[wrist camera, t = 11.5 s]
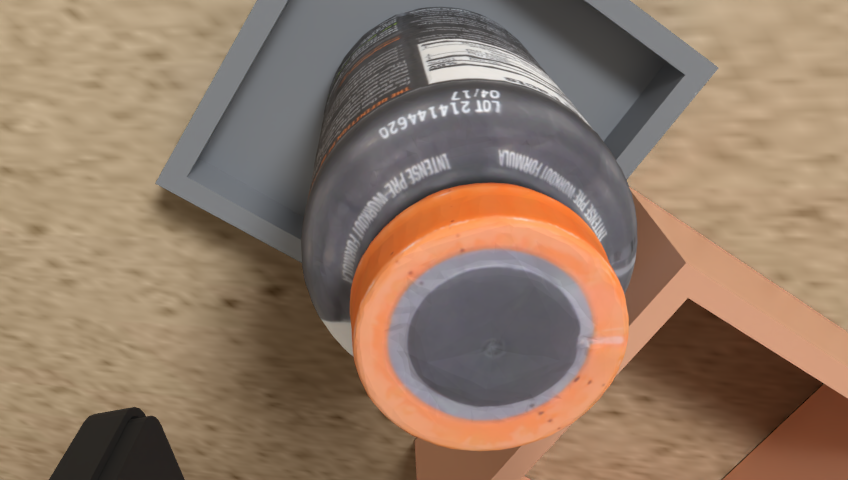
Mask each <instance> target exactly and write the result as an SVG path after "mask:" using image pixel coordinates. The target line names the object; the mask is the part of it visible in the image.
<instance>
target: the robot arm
mask: <svg viewBox="0 0 848 480" xmlns="http://www.w3.org/2000/svg"><path fill="white" fill-rule="evenodd" d="M49 480H185V479H184V477H183V475H182V472H181V470H180V468H179V466H178V463H177V461H176V459H175V456H174V454H173V452H172V449H171V447H170V445H169V442H168V440H167V438H166V435H165V433H164V431H163V428H162V426H161V424H160V422H159V420H158V419H157V418H156V417H154V416H147V417H146V416H145V414H144V412H142V411H141V410H140V409H139V408H136V407H132V408H126V409H121V410H115V411H110V412H104V413H98V414H94V415H91V416H89V417H88V418H87V419H86V420H85V421H84V423H83V425H82V426H81V428H80V430H79V431H78V433H77V434H76V436H75V438H74V439H73V441H72V443H71V444H70V446H69V448H68V449H67V451H66V453H65V454H64V456H63V458H62V459H61V461H60V462H59V464H58V466H57V467H56V469H55V471H54V472H53V474H52V476H51V477H50V479H49Z"/></svg>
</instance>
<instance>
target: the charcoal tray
mask: <svg viewBox="0 0 848 480" xmlns="http://www.w3.org/2000/svg"><path fill="white" fill-rule="evenodd" d="M426 7H453V8H460V9H464V10H468V11H472V12H475V13H478V14H481V15H483V16H485V17H487V18H489V19H491V20H493V21H494V22H496V23H498V24H499V25H501V26H502V27H503V28H505V29H506V30H507V31H509V32H510V33H511V34H512V35H513V36H514V37H516V38H517V39H518V40H519V41H520V42H521V43H522V44H523V46H524V47H525V48H526V49H527V50H528V52H529V53H530V54H531V55H532V56H533V57H534V59H535V60H536V61H537V62H538V63H539V65H540V66H541V67H542V68H543V69H544V70H545V72H546V73H547V74H548V75H549V76H550V78H551V79H552V80H553V81H554V82H555V84H556V85H557V86H558V87H559V88H560V90H561V91H562V92H563V94H564V95H565V96H566V97H567V98H568V99H569V100H570V101H571V103H572V104H573V105H574V106H575V107H576V109H577V110H578V111H579V112H580V114H581V115H582V116H583V117H584V118H585V120H586V121H587V122H588V124H589V125H590V126H591V128H592V129H593V130H594V131H595V132H596V133H598V135H599V136H600V138H601V139H602V140H603V142H604V143H605V145H606V146H607V147H608V149H609V150H610V151H611V153H612V154H613V156H614V158H615V159H616V161H617V163H618V164H619V166H620V167H621V169H622V171H623V173H624V175H625V178H626V180H627V179H628V177H629V176H630V175H631V174H632V172H633V171H634V170H635V169H636V168H637V166H638V165H639V164H640V163H641V162H642V160H643V159H644V158H645V157H646V155H647V154H648V153H649V152H650V151H651V149H652V148H653V147H654V146H655V145H656V143H657V142H658V141H659V140H660V138H661V137H662V136H663V135H664V134H665V132H666V131H667V130H668V129H669V128H670V126H671V125H672V124H673V123H674V122H675V120H676V119H677V118H678V117H679V115H680V114H681V113H682V112H683V111H684V109H685V108H686V107H687V106H688V105H689V103H690V102H691V101H692V100H693V98H694V97H695V96H696V95H697V94H698V92H699V91H700V90H701V89H702V88H703V86H704V85H705V84H706V83H707V81H708V80H709V79H710V78H711V77H712V75H713V74H714V73H715V72H716V71H717V69H718V67H717V66H715V65H714V64H713V63H712V62H710V61H709V60H708V59H706V58H705V57H704V56H702V55H701V54H700V53H698V52H697V51H696V50H694V49H693V48H692V47H690V46H689V45H688V44H686V43H685V42H684V41H683V40H681V39H680V38H679V37H677V36H676V35H675V34H673V33H672V32H671V31H669V30H668V29H667V28H665V27H664V26H663V25H661V24H660V23H659V22H657V21H656V20H655V19H653V18H652V17H651V16H650V15H648V14H647V13H646V12H644V11H643V10H642V9H640V8H639V7H638V6H636V5H635V4H634V3H632V2H631V1H630V0H257V1H256V3H255V5H254V7H253V9H252V10H251V12H250V14H249V16H248V18H247V19H246V21H245V23H244V25H243V27H242V28H241V30H240V32H239V34H238V36H237V37H236V39H235V41H234V43H233V45H232V46H231V48H230V50H229V52H228V54H227V55H226V57H225V59H224V61H223V63H222V64H221V66H220V68H219V70H218V72H217V73H216V75H215V77H214V79H213V81H212V82H211V84H210V86H209V88H208V90H207V91H206V93H205V95H204V97H203V99H202V100H201V102H200V104H199V106H198V108H197V109H196V111H195V113H194V115H193V117H192V118H191V120H190V122H189V124H188V126H187V127H186V129H185V131H184V133H183V135H182V136H181V138H180V140H179V142H178V144H177V145H176V147H175V149H174V151H173V153H172V154H171V156H170V158H169V160H168V162H167V163H166V165H165V167H164V169H163V171H162V172H161V174H160V176H159V178H158V180H157V181H156V183H155V184H157V185H159V186H161V187H163V188H165V189H166V190H168V191H170V192H172V193H174V194H176V195H177V196H179V197H181V198H183V199H185V200H187V201H189V202H190V203H192V204H194V205H196V206H198V207H200V208H201V209H203V210H205V211H207V212H209V213H211V214H213V215H214V216H216V217H218V218H220V219H222V220H224V221H225V222H227V223H229V224H231V225H233V226H235V227H237V228H238V229H240V230H242V231H244V232H246V233H248V234H249V235H251V236H253V237H255V238H257V239H259V240H260V241H262V242H264V243H266V244H268V245H270V246H272V247H273V248H275V249H277V250H279V251H281V252H283V253H284V254H286V255H288V256H290V257H292V258H294V259H296V260H297V261H299V262H301V263H302V252H301V237H302V227H303V220H304V214H305V209H306V205H307V199H308V195H309V190H310V185H311V181H312V175H313V171H314V163H315V158H316V153H317V148H318V144H319V138H320V133H321V128H322V122H323V117H324V110H325V106H326V102H327V98H328V94H329V90H330V87H331V83H332V80H333V78H334V76H335V73H336V71H337V70H338V68H339V66H340V64H341V62H342V60H343V59H344V57H345V56H346V55H347V53H348V52H349V51H350V50H351V49H352V47H353V46H354V45H355V44H356V43H357V42H358V40H359V39H360V38H361V37H362V36H363V35H364V34H365V33H367V32H368V31H369V30H371V29H373V28H374V27H376V26H377V25H379V24H380V23H382V22H384V21H385V20H387V19H389V18H391V17H392V16H394V15H397V14H400V13H403V12H407V11H410V10H414V9H419V8H426Z"/></svg>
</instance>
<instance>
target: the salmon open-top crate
mask: <svg viewBox="0 0 848 480" xmlns="http://www.w3.org/2000/svg"><path fill="white" fill-rule="evenodd" d="M629 188H630V190H631V193H632V197H633V201H634V205H635V210H636V218H637V241H638V242H637V251H636V259H635V265H634V269H633V273H632V276H631V279H630V283H629V286H628V288H627V290H626V293H625V298H626V305H627V310H628V316H629V335H628V342H627V347H626V352H625V355H624V358H623V360H622V362H621V365H620V367H619V370H618V372H617V374H618V373H619V372H620V371H621V370H622V369H623V368H624V367H625V366H626V365H627V364H628V362H629V361H630V360H631V359H632V358H633V357H634V356H635V355H636V354H637V353H638V352H639V351H640V349H641V348H642V347H643V346H644V345H645V344H646V343H647V342H648V341H649V340H650V339H651V338H652V336H653V335H654V334H655V333H656V332H657V331H658V330H659V329H660V328H661V327H662V326H663V324H664V323H665V322H666V321H667V320H668V319H669V318H670V317H671V316H672V315H673V314H674V313H675V311H676V310H677V309H678V308H679V307H680V306H681V305H682V304H683V303H684V302H685V301H686V300H687V298H689V299H691V300H692V301H694V302H695V303H697V304H699V305H700V306H702V307H703V308H705V309H707V310H708V311H710V312H711V313H713V314H714V315H716V316H718V317H719V318H721V319H722V320H724V321H726V322H727V323H729V324H730V325H732V326H734V327H735V328H737V329H738V330H740V331H741V332H743V333H745V334H746V335H748V336H749V337H751V338H753V339H754V340H756V341H757V342H759V343H760V344H762V345H764V346H765V347H767V348H768V349H770V350H772V351H773V352H775V353H776V354H778V355H780V356H781V357H783V358H784V359H786V360H787V361H789V362H791V363H792V364H794V365H795V366H797V367H799V368H800V369H802V370H803V371H805V372H807V373H808V374H810V375H811V376H813V377H814V378H816V379H818V380H819V381H821V382H822V383H824V384H823V385H822V386H821V387H820V388H819V389H818V390H817V391H816V392H815V393H814V394H813V395H812V396H811V397H809V398H808V399H807V400H806V401H805V402H804V403H803V404H802V405H801V406H800V407H799V408H798V409H797V410H796V411H795V412H794V413H792V414H791V415H790V416H789V417H788V418H787V419H786V420H785V421H784V422H783V423H782V424H781V425H780V426H779V427H778V428H777V429H776V430H774V431H773V432H772V433H771V434H770V435H769V436H768V437H767V438H766V439H765V440H764V441H763V442H762V443H761V444H760V445H759V446H757V447H756V448H755V449H754V450H753V451H752V452H751V453H750V454H749V455H748V456H747V457H746V458H745V459H744V460H743V461H742V462H741V463H739V464H738V465H737V466H736V467H735V468H734V469H733V470H732V471H731V472H730V473H729V474H728V475H727V476H726V477H725V478H724V479H723V480H848V332H847V331H845V330H844V329H842V328H841V327H839V326H838V325H836V324H835V323H833V322H832V321H830V320H829V319H827V318H826V317H824V316H823V315H821V314H820V313H818V312H817V311H815V310H814V309H812V308H811V307H809V306H808V305H806V304H805V303H803V302H802V301H800V300H799V299H797V298H796V297H794V296H793V295H791V294H790V293H788V292H787V291H785V290H784V289H782V288H781V287H779V286H778V285H776V284H775V283H773V282H772V281H770V280H769V279H767V278H766V277H764V276H763V275H761V274H760V273H758V272H757V271H755V270H754V269H752V268H751V267H749V266H748V265H746V264H745V263H743V262H742V261H740V260H739V259H737V258H736V257H734V256H733V255H731V254H730V253H728V252H727V251H725V250H724V249H722V248H721V247H719V246H718V245H716V244H715V243H713V242H712V241H710V240H709V239H707V238H706V237H704V236H703V235H701V234H700V233H698V232H697V231H695V230H694V229H692V228H691V227H689V226H688V225H686V224H685V223H683V222H682V221H680V220H679V219H677V218H676V217H674V216H673V215H671V214H670V213H668V212H667V211H665V210H664V209H662V208H661V207H659V206H658V205H656V204H655V203H653V202H652V201H650V200H649V199H647V198H646V197H644V196H643V195H641V194H640V193H638V192H637V191H635V190H634V189H632V188H631V187H629ZM617 374H616V375H617ZM615 377H616V376H615ZM615 377H614V378H615ZM570 425H571V424H570ZM570 425H569V426H567V427H565V428H563V429H562V430H560V431H558V432H556V433H555V434H553V435H551V436H548V437H546V438H544V439H541V440H538V441H535V442H532V443H529V444H526V445H523V446H519V447H514V448H510V449H504V450H491V451H467V450H456V449H450V448H446V447H442V446H438V445H435V444H432V443H430V442H427V441H425V440H422V439H420V438H416V440H415V456H416V474H417V480H531V479H529V478H527V477H525V476H524V475H525V474H526V473H527V472H528V471H529V470H530V469H531V468H532V467H533V466H534V464H535V463H536V462H537V461H538V460H539V459H540V458H541V457H542V456H543V455H544V454H545V453H546V451H547V450H548V449H549V448H550V447H551V446H552V445H553V444H554V443H555V442H556V441H557V440H558V438H559V437H560V436H561V435H562V434H563V433H564V432H565V431H566V430H567V429H568V428H569V427H570Z"/></svg>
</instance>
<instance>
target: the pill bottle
mask: <svg viewBox="0 0 848 480" xmlns="http://www.w3.org/2000/svg"><path fill="white" fill-rule="evenodd" d="M637 242H638V241H637V218H636V210H635V205H634V201H633V197H632V193H631V190H630V188H629V185H628V183H627V180H626V178H625V175H624V173H623V171H622V169H621V167H620V166H619V164H618V163H617V161H616V159H615V158H614V156H613V154H612V153H611V151H610V150H609V149H608V147H607V146H606V145H605V143H604V142H603V140H602V139H601V138H600V136H599V135H598V133H596V132H595V131H594V130H593V129H592V128H591V126H590V125H589V124H588V122H587V121H586V120H585V118H584V117H583V116H582V115H581V114H580V112H579V111H578V110H577V109H576V107H575V106H574V105H573V104H572V103H571V101H570V100H569V99H568V98H567V97H566V96H565V95H564V94H563V92H562V91H561V90H560V88H559V87H558V86H557V85H556V84H555V82H554V81H553V80H552V79H551V78H550V76H549V75H548V74H547V73H546V72H545V70H544V69H543V68H542V67H541V66H540V65H539V63H538V62H537V61H536V60H535V59H534V57H533V56H532V55H531V54H530V53H529V52H528V50H527V49H526V48H525V47H524V46H523V44H522V43H521V42H520V41H519V40H518V39H517V38H516V37H514V36H513V35H512V34H511V33H510V32H509V31H507V30H506V29H505V28H503V27H502V26H501V25H499V24H498V23H496V22H494V21H493V20H491V19H489V18H487V17H485V16H483V15H481V14H478V13H475V12H472V11H468V10H464V9H460V8H453V7H426V8H419V9H414V10H410V11H407V12H403V13H400V14H397V15H394V16H392V17H391V18H389V19H387V20H385V21H384V22H382V23H380V24H379V25H377V26H376V27H374V28H373V29H371V30H369V31H368V32H367V33H365V34H364V35H363V36H362V37H361V38H360V39H359V40H358V42H357V43H356V44H355V45H354V46H353V47H352V49H351V50H350V51H349V52H348V53H347V55H346V56H345V57H344V59H343V60H342V62H341V64H340V66H339V68H338V70H337V71H336V73H335V76H334V78H333V80H332V83H331V87H330V90H329V94H328V98H327V102H326V106H325V110H324V117H323V122H322V128H321V133H320V138H319V144H318V148H317V153H316V158H315V163H314V171H313V175H312V181H311V185H310V190H309V195H308V199H307V205H306V209H305V214H304V220H303V227H302V237H301V252H302V267H303V274H304V279H305V283H306V286H307V289H308V291H309V294H310V297H311V300H312V303H313V305H314V307H315V309H316V311H317V313H318V315H319V317H320V318H321V320H322V321H323V322H324V324H325V325H326V327H327V328H328V330H329V331H330V333H331V334H332V335H333V337H334V338H335V339H336V340H337V341H338V342H339V343H340V344H341V346H342V347H343V348H344V349H345V350H346V351H347V352H349V353H350V354H351V355H352V356H353V357H354V362H355V365H356V368H357V371H358V375H359V378H360V381H361V382H362V384H363V386H364V388H365V390H366V392H367V394H368V396H369V398H370V399H371V400H372V402H373V403H374V404H375V405H376V406H377V407H378V408H379V410H380V411H381V412H382V413H383V414H384V415H385V416H386V417H387V418H388V419H389V420H391V421H392V422H393V423H394V424H396V425H397V426H398V427H400V428H401V429H403V430H404V431H406V432H407V433H409V434H411V435H412V436H415V437H417V438H420V439H422V440H425V441H427V442H430V443H432V444H435V445H438V446H442V447H446V448H450V449H456V450H467V451H491V450H504V449H510V448H514V447H519V446H523V445H526V444H529V443H532V442H535V441H538V440H541V439H544V438H546V437H548V436H551V435H553V434H555V433H556V432H558V431H560V430H562V429H563V428H565V427H567V426H569V425H570V424H572V423H573V422H574V421H576V420H577V419H578V418H580V417H581V416H582V415H584V414H585V413H586V412H587V411H588V410H589V409H590V408H591V407H592V406H593V405H594V404H595V403H596V402H597V401H598V400H599V399H600V398H601V396H602V395H603V393H604V392H605V391H606V389H607V388H608V387H609V386H610V385H611V383H612V382H613V379H614V377H615V376H616V374H617V372H618V370H619V367H620V365H621V362H622V360H623V358H624V355H625V352H626V347H627V342H628V335H629V316H628V310H627V305H626V298H625V293H626V290H627V288H628V286H629V283H630V279H631V276H632V273H633V269H634V265H635V259H636V251H637Z"/></svg>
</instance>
